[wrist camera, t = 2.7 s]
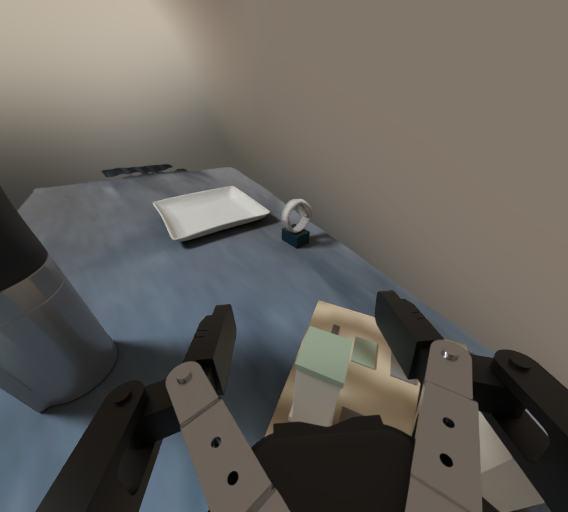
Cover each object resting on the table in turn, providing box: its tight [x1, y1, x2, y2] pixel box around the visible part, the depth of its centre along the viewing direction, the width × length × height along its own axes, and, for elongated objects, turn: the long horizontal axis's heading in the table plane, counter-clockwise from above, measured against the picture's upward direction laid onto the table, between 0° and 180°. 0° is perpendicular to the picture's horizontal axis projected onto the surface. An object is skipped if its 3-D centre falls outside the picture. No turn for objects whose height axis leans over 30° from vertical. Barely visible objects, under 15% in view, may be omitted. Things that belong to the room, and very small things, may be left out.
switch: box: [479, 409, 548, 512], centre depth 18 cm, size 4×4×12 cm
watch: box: [281, 199, 313, 249], centre depth 56 cm, size 6×8×11 cm
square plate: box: [153, 186, 270, 242], centre depth 69 cm, size 27×27×4 cm
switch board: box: [265, 301, 467, 437], centre depth 28 cm, size 24×22×2 cm
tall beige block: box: [288, 326, 353, 427], centre depth 22 cm, size 4×4×12 cm
